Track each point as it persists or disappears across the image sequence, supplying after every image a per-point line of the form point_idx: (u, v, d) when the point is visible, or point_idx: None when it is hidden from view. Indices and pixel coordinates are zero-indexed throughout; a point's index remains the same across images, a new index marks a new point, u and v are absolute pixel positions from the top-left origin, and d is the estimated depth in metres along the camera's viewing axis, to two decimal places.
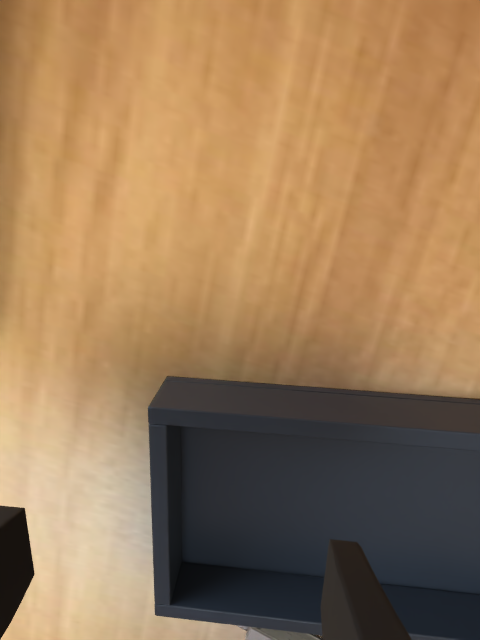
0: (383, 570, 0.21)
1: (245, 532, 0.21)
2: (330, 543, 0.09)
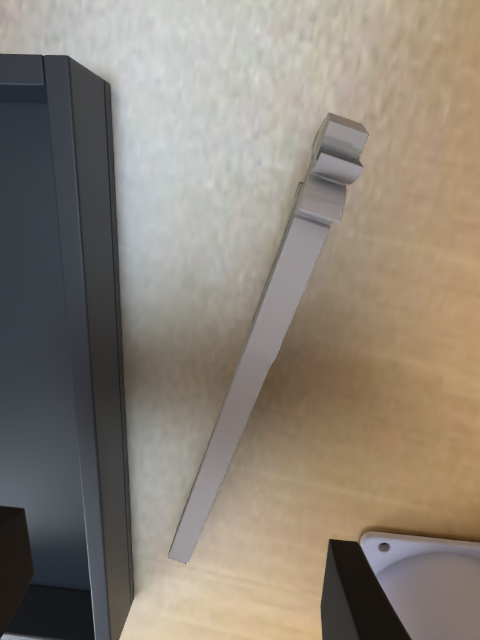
0: None
1: (65, 537, 0.20)
2: (331, 543, 0.09)
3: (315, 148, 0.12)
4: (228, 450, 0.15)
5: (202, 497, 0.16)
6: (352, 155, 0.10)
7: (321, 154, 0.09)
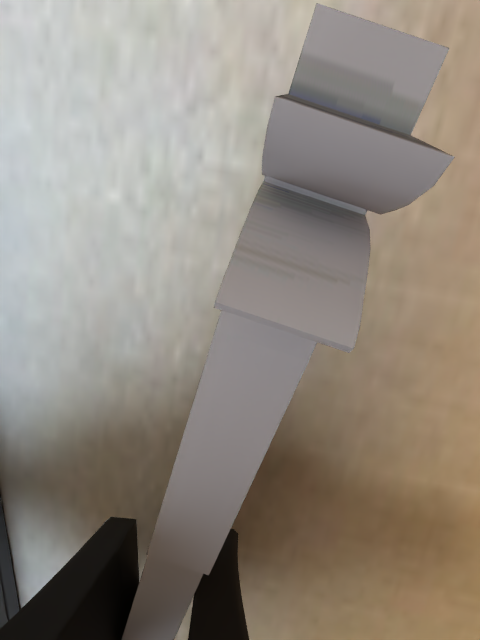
0: None
1: None
2: None
3: None
4: None
5: None
6: (390, 121, 0.03)
7: (277, 103, 0.02)
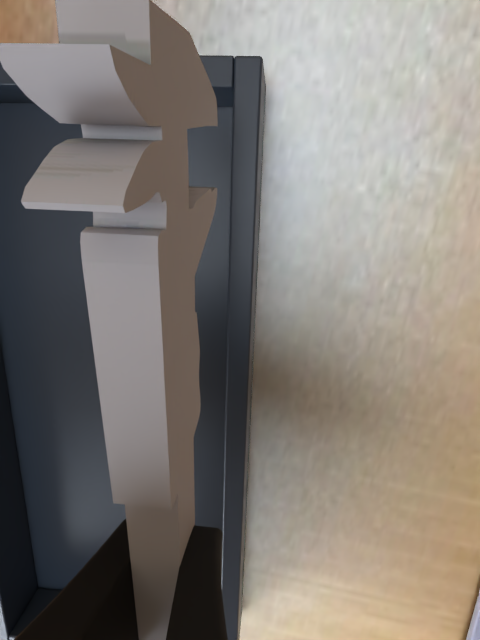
0: (211, 423, 0.17)
1: None
2: None
3: None
4: None
5: None
6: None
7: None
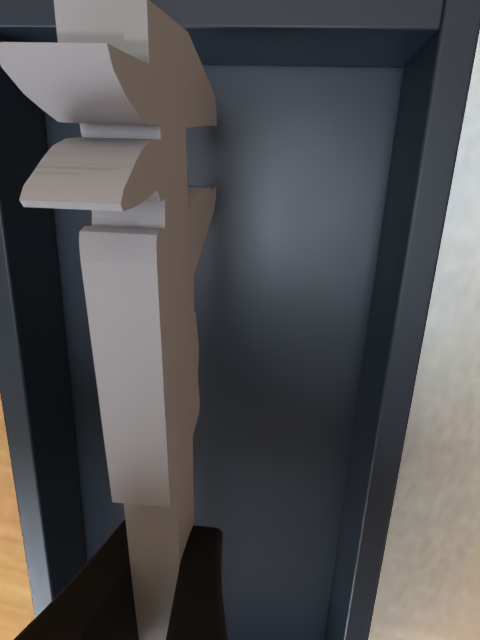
0: (323, 463, 0.14)
1: (268, 609, 0.16)
2: None
3: None
4: None
5: None
6: None
7: None
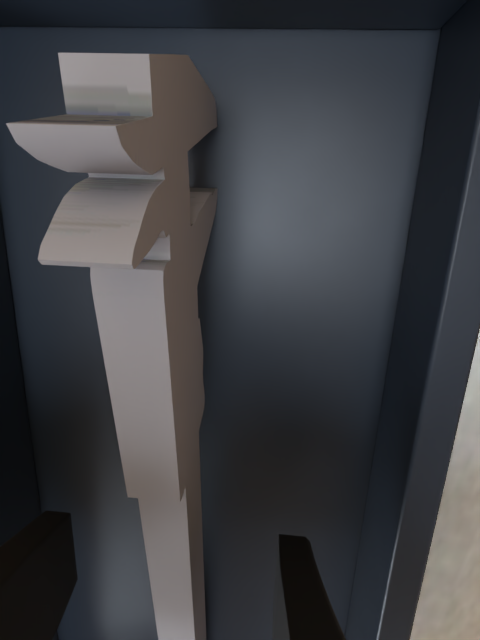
0: (333, 516, 0.12)
1: None
2: (279, 538, 0.09)
3: None
4: (184, 614, 0.10)
5: None
6: (136, 111, 0.04)
7: (11, 126, 0.04)
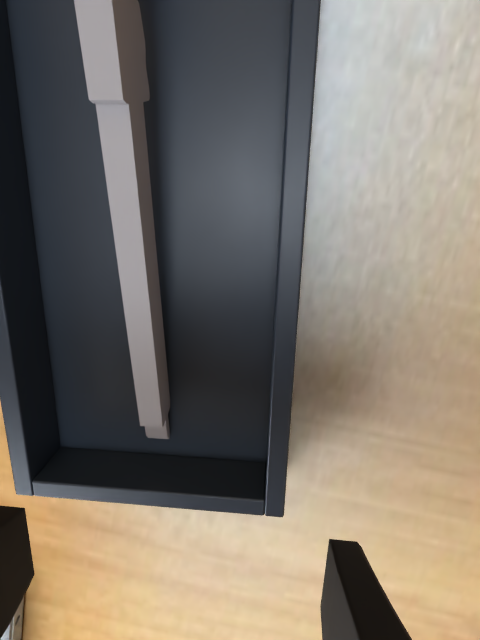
0: (256, 229, 0.16)
1: (216, 393, 0.18)
2: (331, 543, 0.09)
3: None
4: (137, 256, 0.14)
5: (138, 332, 0.15)
6: None
7: None
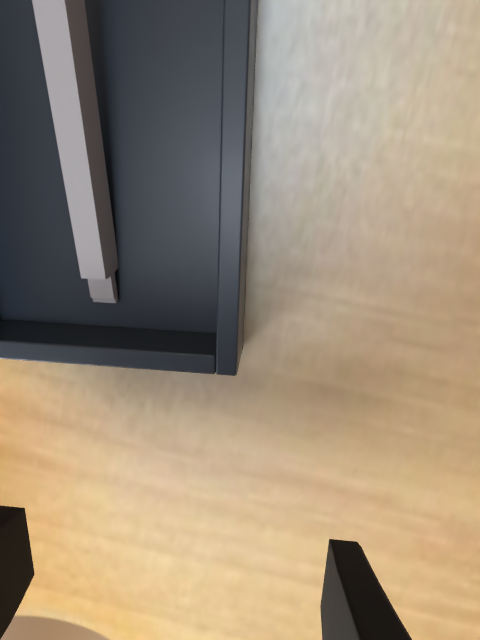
0: (207, 45, 0.14)
1: (167, 251, 0.16)
2: (331, 543, 0.09)
3: None
4: (63, 41, 0.12)
5: (71, 150, 0.13)
6: None
7: None
